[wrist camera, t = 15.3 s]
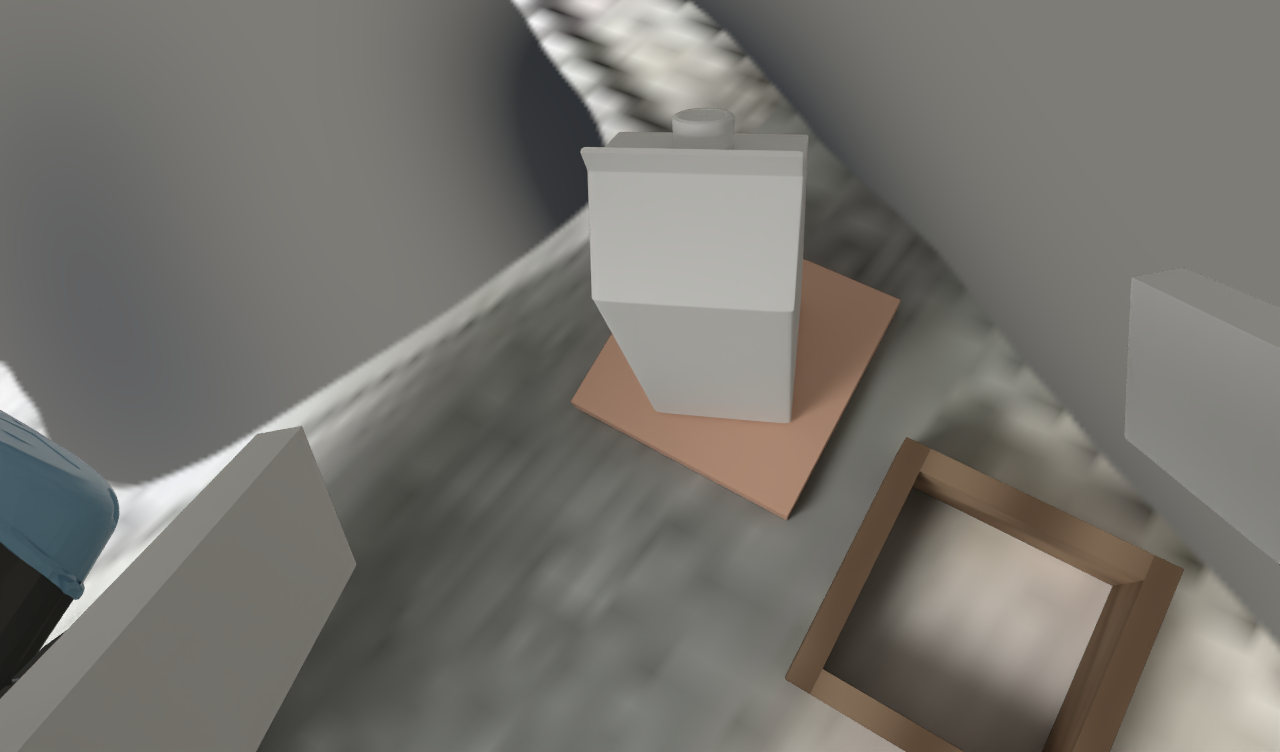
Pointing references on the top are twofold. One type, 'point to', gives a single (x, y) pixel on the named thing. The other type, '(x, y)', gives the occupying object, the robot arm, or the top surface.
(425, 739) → the top surface
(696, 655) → the top surface
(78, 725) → the robot arm
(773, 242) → the milk carton
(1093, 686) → the tray
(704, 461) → the terracotta board
